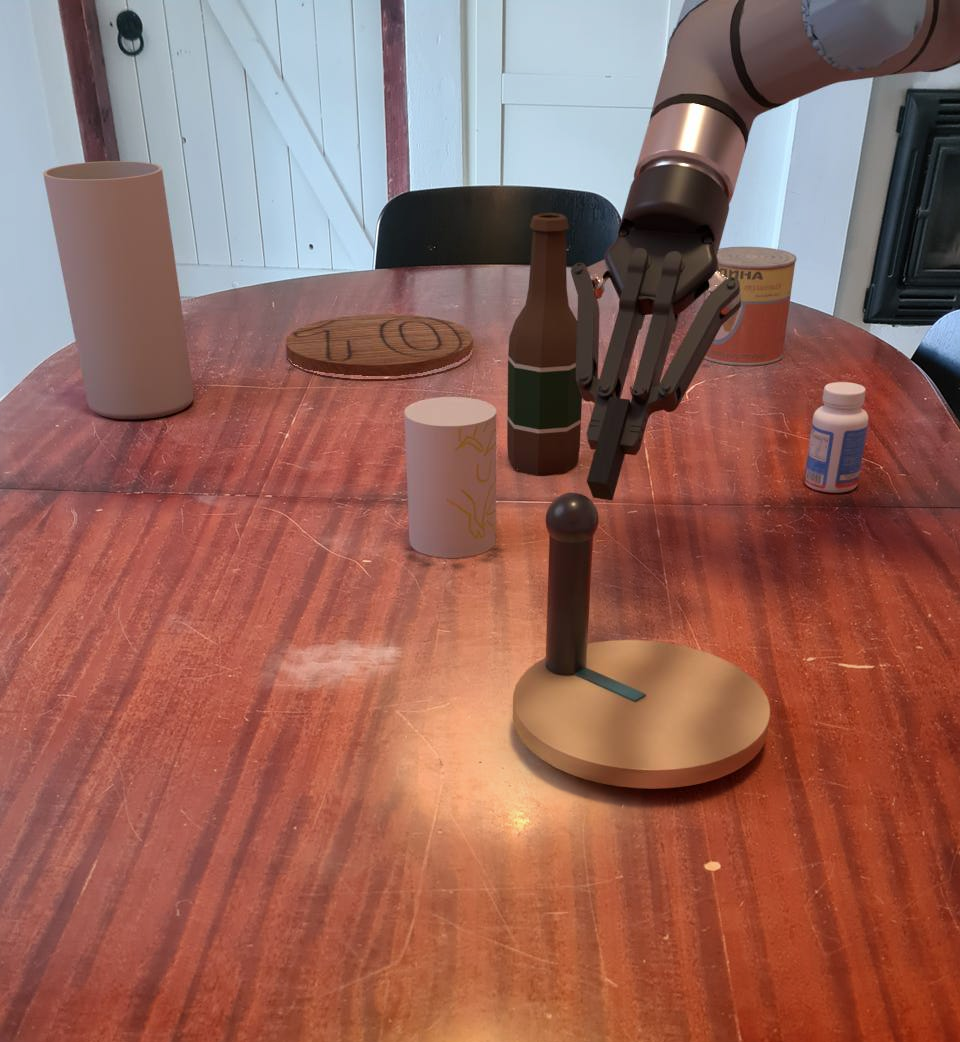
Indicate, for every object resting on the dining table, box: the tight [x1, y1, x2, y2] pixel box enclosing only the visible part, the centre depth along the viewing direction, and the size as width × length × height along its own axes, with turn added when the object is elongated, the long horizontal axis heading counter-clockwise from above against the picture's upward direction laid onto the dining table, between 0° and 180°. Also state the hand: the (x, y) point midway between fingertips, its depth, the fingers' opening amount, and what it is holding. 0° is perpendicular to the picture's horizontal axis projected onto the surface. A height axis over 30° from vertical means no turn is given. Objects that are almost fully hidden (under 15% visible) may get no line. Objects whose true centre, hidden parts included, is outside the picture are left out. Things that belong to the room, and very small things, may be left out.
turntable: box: [512, 492, 771, 790], centre depth 83 cm, size 18×18×14 cm
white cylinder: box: [403, 396, 497, 559], centre depth 112 cm, size 8×8×12 cm
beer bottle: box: [506, 212, 583, 476], centre depth 125 cm, size 8×8×24 cm
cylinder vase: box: [42, 160, 195, 421], centre depth 141 cm, size 12×12×25 cm
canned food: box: [702, 246, 797, 367], centre depth 161 cm, size 11×11×12 cm
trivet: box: [285, 313, 474, 382], centre depth 165 cm, size 25×25×2 cm
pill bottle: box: [804, 381, 869, 494], centre depth 124 cm, size 6×5×10 cm
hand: (599, 490), depth 89 cm, fingers closed
